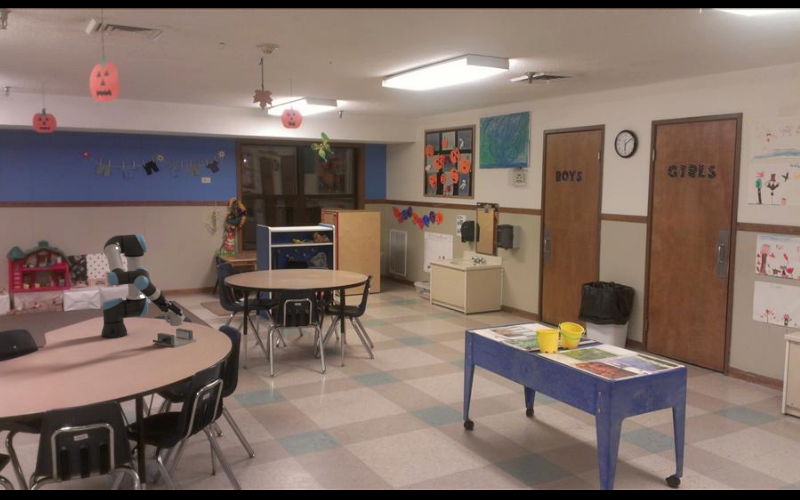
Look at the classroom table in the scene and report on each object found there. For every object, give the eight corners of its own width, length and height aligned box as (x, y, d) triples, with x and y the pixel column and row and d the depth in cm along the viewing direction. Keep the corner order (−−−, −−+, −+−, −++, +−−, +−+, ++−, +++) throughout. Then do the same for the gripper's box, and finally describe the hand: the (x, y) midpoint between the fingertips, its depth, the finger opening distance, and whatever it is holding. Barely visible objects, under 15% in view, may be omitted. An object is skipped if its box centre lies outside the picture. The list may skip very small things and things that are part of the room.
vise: (146, 345, 378) (146, 335, 378) (176, 337, 397) (176, 327, 396) (167, 349, 369) (166, 338, 368) (196, 341, 388) (196, 330, 387)
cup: (182, 325, 383) (182, 311, 382) (165, 326, 380) (164, 312, 379) (183, 323, 389) (182, 308, 388) (165, 324, 386) (165, 309, 385)
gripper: (140, 299, 374) (164, 321, 390) (163, 302, 364) (187, 324, 379) (147, 289, 378) (171, 311, 394) (170, 292, 368) (194, 314, 383)
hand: (179, 317), depth 387 cm, fingers closed on cup, 8 cm apart
